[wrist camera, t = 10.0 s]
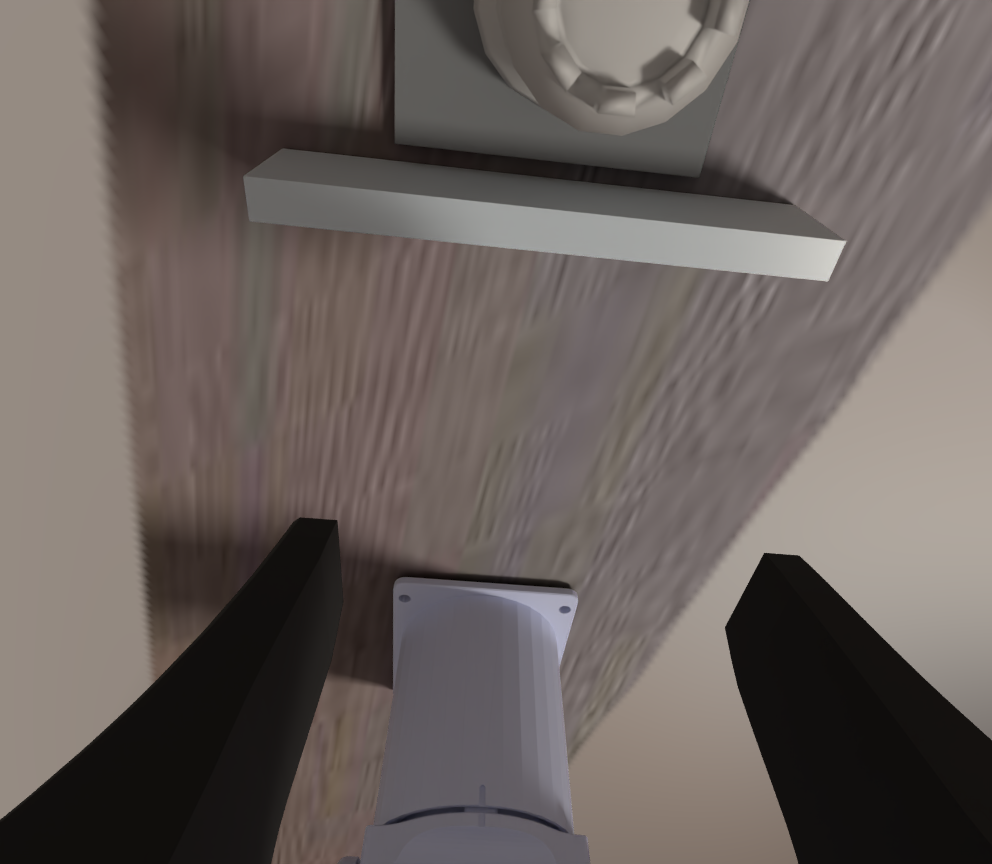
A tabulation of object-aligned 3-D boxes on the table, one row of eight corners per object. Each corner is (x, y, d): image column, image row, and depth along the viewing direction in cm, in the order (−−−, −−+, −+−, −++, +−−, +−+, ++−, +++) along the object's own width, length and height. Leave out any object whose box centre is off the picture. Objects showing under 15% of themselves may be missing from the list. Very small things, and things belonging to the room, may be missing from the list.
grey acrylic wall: (781, 241, 17) (828, 281, 15) (286, 187, 16) (249, 221, 14) (795, 205, 16) (846, 240, 14) (282, 147, 16) (243, 175, 13)
